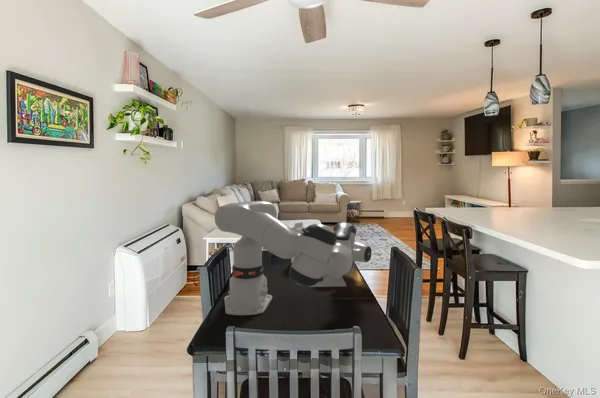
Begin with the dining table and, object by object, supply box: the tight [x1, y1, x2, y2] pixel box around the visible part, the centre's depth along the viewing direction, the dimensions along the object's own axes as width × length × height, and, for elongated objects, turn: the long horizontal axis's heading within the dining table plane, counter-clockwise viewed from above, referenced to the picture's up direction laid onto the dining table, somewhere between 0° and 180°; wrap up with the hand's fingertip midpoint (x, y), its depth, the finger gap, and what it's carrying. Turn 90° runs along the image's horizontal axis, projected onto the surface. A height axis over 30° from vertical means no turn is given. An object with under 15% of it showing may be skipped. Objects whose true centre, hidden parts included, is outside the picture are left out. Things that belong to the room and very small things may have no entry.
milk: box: [290, 222, 306, 264], centre depth 194 cm, size 6×6×22 cm
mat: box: [310, 274, 348, 288], centre depth 164 cm, size 18×17×1 cm
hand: (322, 243), depth 181 cm, fingers closed on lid, 5 cm apart
